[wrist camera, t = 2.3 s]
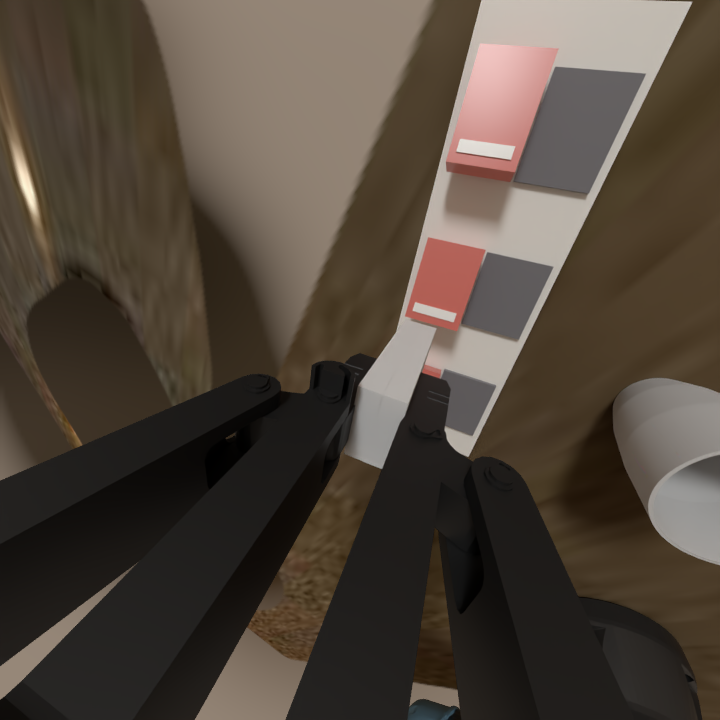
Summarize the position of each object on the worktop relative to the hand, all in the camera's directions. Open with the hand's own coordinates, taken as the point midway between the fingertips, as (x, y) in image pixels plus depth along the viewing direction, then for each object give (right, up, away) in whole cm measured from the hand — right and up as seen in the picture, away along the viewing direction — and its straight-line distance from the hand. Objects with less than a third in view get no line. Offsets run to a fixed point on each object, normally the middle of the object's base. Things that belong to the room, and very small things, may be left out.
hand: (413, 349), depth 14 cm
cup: (+21, -4, +9) cm, 23 cm away
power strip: (+6, +3, +11) cm, 13 cm away
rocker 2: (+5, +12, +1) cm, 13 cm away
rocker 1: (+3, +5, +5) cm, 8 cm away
